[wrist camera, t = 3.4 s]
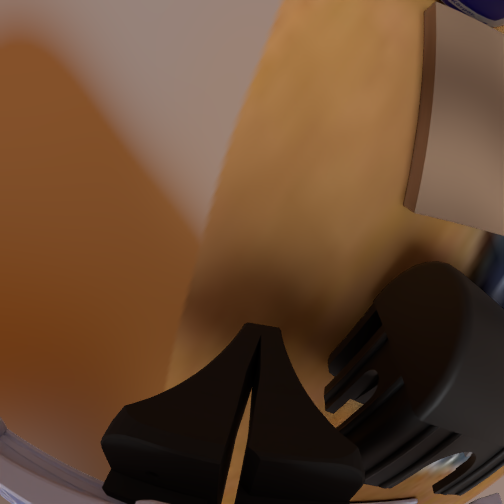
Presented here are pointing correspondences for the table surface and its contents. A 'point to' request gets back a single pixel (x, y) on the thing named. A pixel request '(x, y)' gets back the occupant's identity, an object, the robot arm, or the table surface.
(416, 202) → the walnut stand
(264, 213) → the table surface
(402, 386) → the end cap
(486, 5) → the energy drink
